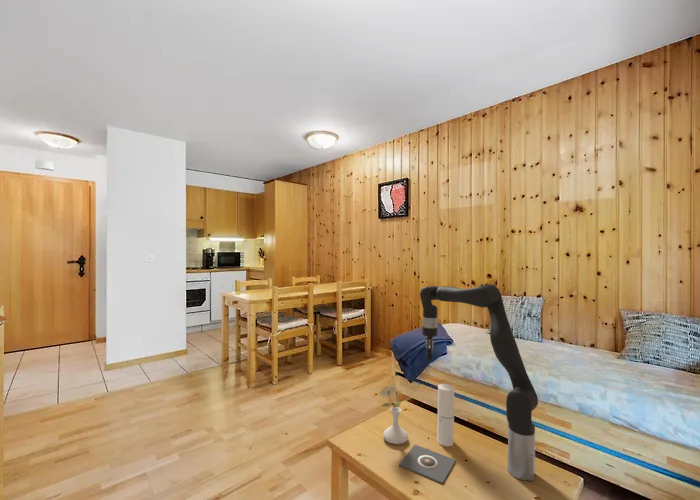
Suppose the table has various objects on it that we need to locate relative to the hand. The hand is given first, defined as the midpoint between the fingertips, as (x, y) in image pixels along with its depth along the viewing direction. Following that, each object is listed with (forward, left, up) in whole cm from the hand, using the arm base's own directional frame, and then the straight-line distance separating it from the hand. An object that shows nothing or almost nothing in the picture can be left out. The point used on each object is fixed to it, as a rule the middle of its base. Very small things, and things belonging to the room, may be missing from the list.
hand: (429, 359), depth 168 cm
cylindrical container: (-13, +13, -31) cm, 36 cm away
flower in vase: (+7, +25, -31) cm, 41 cm away
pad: (-12, +32, -31) cm, 46 cm away
